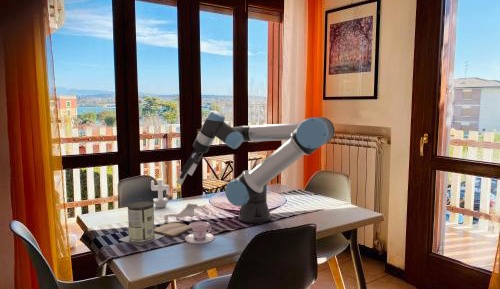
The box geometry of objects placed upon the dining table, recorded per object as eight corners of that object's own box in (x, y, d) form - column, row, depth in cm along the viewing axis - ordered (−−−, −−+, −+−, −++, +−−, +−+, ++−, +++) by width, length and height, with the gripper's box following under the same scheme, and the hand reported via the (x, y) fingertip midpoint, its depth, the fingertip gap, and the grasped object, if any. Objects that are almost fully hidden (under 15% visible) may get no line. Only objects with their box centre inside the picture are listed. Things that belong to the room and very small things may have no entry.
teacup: (186, 245, 144) (186, 230, 143) (183, 235, 156) (183, 221, 155) (217, 242, 147) (217, 227, 147) (211, 232, 159) (211, 218, 158)
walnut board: (193, 228, 164) (193, 226, 164) (173, 237, 153) (173, 235, 153) (172, 223, 171) (172, 221, 171) (151, 231, 160) (151, 229, 159)
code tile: (164, 236, 154) (164, 235, 154) (140, 246, 143) (140, 245, 143) (142, 230, 161) (142, 230, 161) (118, 240, 150) (118, 239, 150)
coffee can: (134, 232, 157) (133, 200, 156) (158, 233, 156) (157, 201, 155) (124, 241, 147) (122, 207, 146) (149, 242, 146) (148, 207, 145)
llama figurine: (200, 232, 179) (162, 219, 174) (210, 208, 179) (171, 195, 174) (201, 233, 177) (162, 221, 172) (211, 209, 177) (172, 196, 172)
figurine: (170, 207, 198) (169, 179, 196) (152, 208, 195) (151, 180, 193) (168, 203, 204) (168, 177, 203) (151, 205, 201) (150, 178, 200)
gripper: (205, 132, 183) (187, 166, 189) (186, 144, 159) (166, 183, 166) (218, 139, 182) (199, 174, 189) (201, 152, 159) (181, 191, 165)
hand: (184, 178), depth 177 cm, fingers open, 13 cm apart
